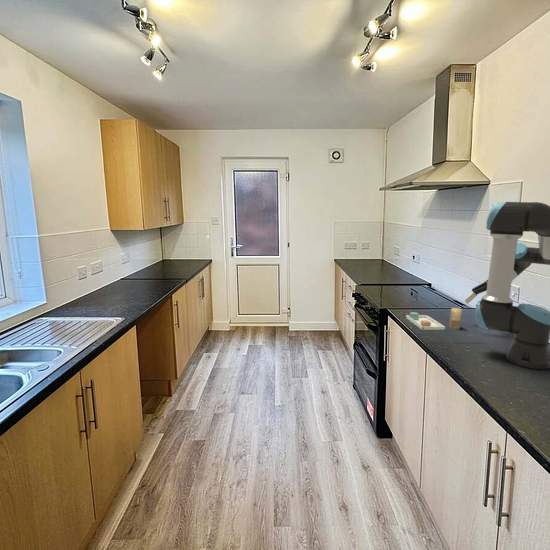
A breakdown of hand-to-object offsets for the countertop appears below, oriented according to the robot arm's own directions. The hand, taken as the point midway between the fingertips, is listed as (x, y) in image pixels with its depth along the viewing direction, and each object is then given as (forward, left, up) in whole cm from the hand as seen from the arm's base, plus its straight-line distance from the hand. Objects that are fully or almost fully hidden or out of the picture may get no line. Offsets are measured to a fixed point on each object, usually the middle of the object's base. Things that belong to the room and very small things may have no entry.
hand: (472, 305), depth 190 cm
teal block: (+13, +24, -12) cm, 30 cm away
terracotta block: (-2, +25, -12) cm, 27 cm away
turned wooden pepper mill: (-1, +9, -13) cm, 15 cm away
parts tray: (+6, +22, -13) cm, 26 cm away
